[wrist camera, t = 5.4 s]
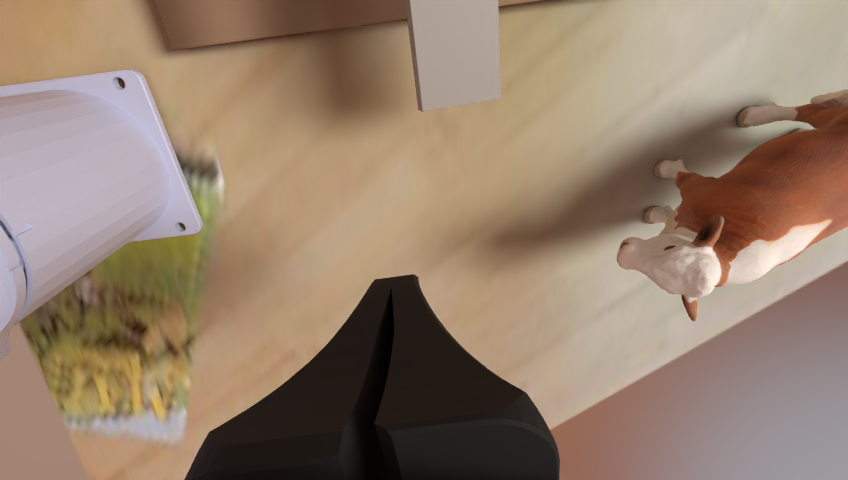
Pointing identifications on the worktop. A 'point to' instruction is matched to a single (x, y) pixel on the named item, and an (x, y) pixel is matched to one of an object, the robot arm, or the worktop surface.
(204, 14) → the base board
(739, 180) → the bull figurine
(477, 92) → the tilted wooden ramp
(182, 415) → the worktop surface
